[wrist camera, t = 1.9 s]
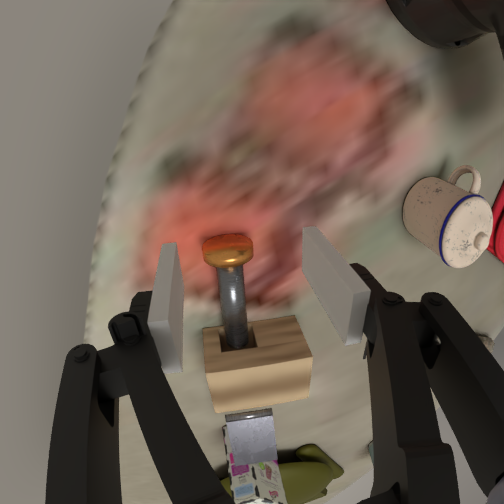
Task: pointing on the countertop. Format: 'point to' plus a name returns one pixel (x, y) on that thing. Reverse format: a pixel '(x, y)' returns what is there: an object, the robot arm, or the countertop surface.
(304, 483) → the spaceship
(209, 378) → the oak block
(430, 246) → the teacup with lid
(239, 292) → the lynch pin
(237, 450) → the plate
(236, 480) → the candy bar box
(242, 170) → the countertop surface
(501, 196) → the red long flat piece
